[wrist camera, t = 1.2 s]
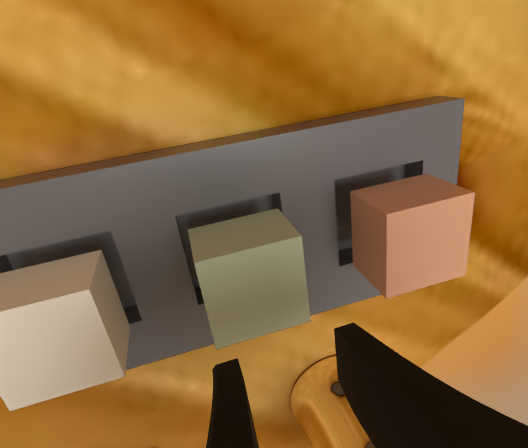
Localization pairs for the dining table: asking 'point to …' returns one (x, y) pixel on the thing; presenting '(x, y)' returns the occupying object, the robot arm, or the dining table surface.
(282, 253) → the sage button
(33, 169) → the dining table surface
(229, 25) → the dining table surface
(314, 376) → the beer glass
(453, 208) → the terracotta button
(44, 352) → the cream button
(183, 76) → the dining table surface
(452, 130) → the button panel
